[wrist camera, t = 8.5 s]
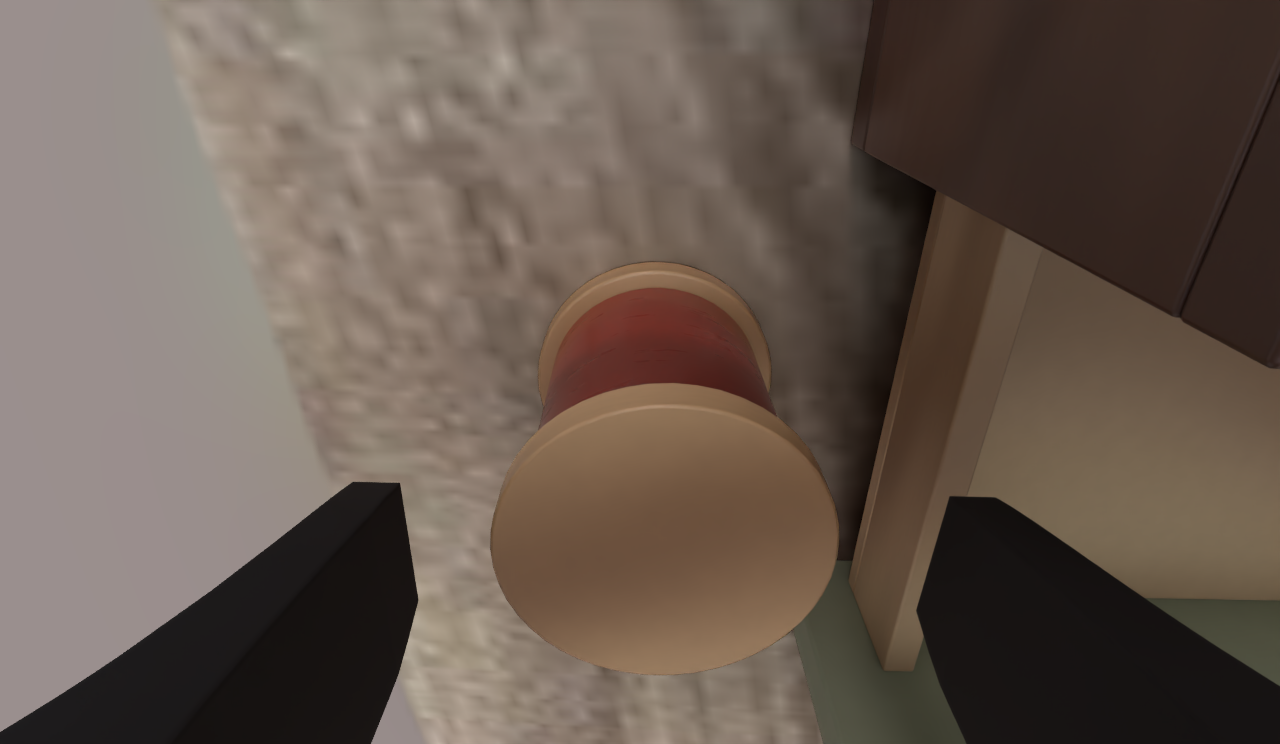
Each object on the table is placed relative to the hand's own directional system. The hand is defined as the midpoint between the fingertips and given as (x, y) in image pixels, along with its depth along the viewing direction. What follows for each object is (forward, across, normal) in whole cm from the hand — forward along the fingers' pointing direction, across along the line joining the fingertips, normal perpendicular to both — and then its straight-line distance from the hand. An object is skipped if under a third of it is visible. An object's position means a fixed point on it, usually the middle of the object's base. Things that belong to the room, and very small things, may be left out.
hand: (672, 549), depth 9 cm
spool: (+5, 0, 0) cm, 5 cm away
